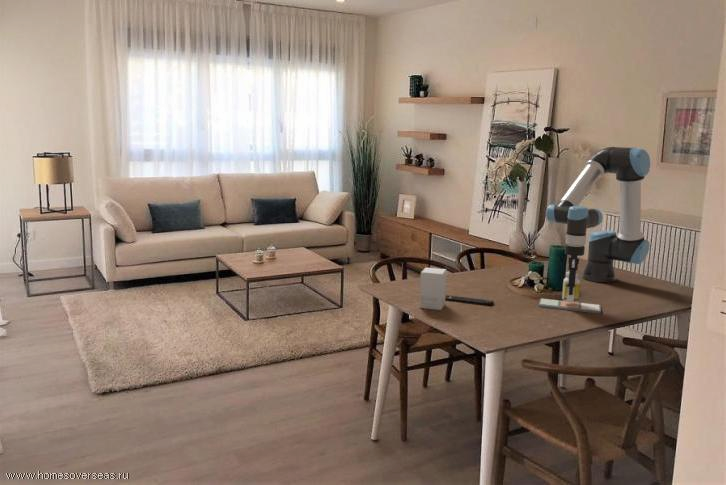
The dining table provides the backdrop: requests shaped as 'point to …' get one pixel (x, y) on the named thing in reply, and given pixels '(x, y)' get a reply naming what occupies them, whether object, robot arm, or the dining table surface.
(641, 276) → the dining table surface
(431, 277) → the supplement box
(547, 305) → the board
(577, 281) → the pill bottle
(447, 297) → the remote control
